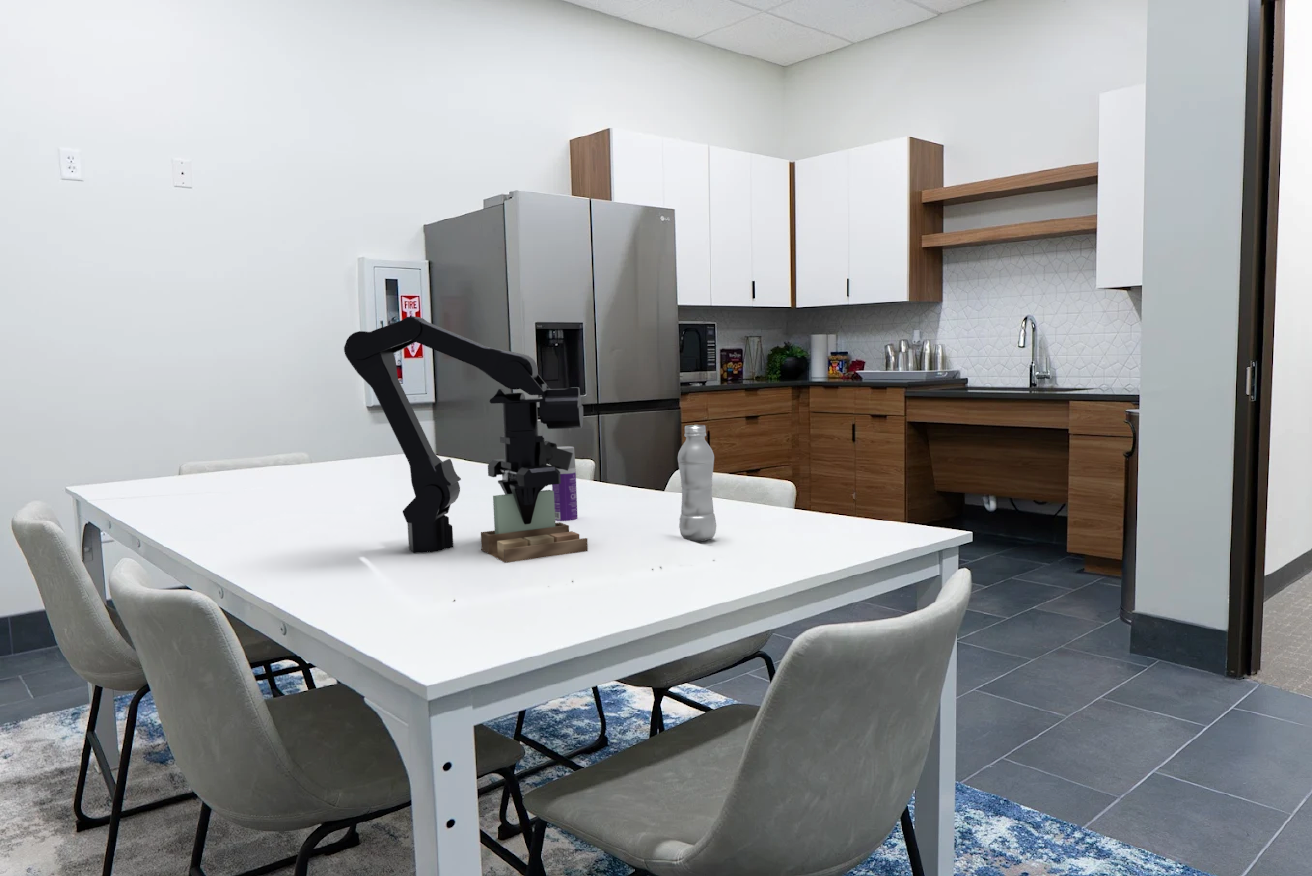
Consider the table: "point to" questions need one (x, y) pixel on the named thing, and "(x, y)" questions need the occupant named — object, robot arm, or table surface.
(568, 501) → the container
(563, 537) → the offcut
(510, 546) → the offcut
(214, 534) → the table surface
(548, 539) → the offcut
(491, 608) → the table surface
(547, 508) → the green rectangular block
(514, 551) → the rack
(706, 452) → the plastic bottle
